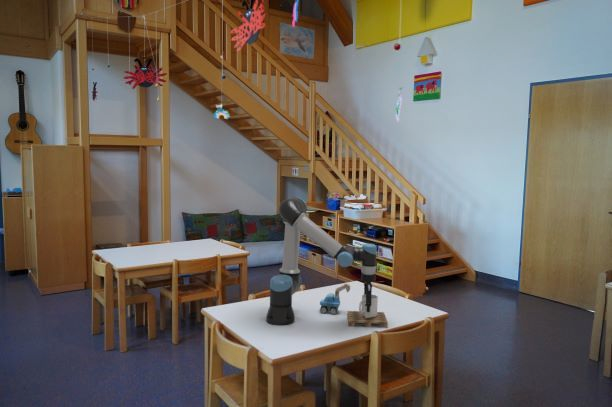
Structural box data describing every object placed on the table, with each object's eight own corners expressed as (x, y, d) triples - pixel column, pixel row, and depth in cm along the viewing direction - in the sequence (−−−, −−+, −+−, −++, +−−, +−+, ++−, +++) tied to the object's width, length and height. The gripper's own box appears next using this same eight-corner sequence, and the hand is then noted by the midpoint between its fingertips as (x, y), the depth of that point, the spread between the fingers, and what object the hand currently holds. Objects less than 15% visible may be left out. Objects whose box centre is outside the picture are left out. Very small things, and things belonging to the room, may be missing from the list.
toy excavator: (348, 316, 272) (349, 285, 270) (318, 313, 275) (319, 283, 274) (349, 311, 280) (351, 281, 279) (321, 308, 284) (321, 279, 282)
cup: (380, 315, 263) (381, 296, 262) (364, 319, 255) (365, 300, 254) (368, 311, 269) (369, 293, 268) (353, 315, 261) (354, 296, 260)
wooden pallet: (348, 326, 256) (349, 320, 255) (347, 316, 272) (347, 310, 271) (387, 327, 255) (387, 321, 255) (383, 317, 271) (383, 312, 271)
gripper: (377, 278, 250) (376, 321, 252) (373, 268, 271) (371, 308, 274) (363, 278, 250) (361, 321, 252) (359, 268, 272) (358, 308, 274)
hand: (366, 314), depth 263 cm, fingers closed on cup, 9 cm apart
